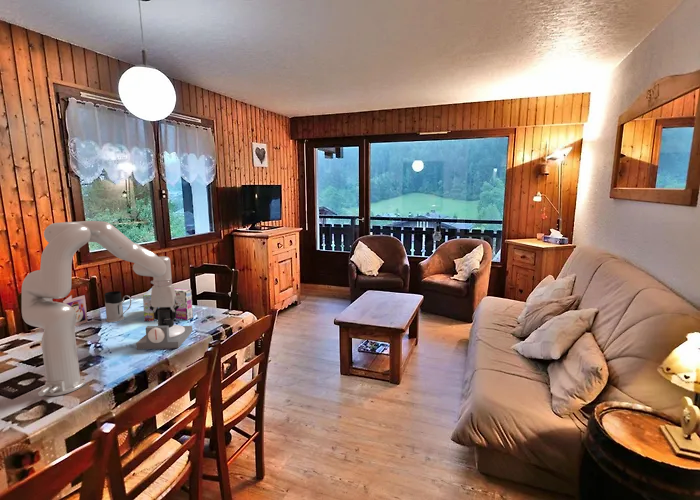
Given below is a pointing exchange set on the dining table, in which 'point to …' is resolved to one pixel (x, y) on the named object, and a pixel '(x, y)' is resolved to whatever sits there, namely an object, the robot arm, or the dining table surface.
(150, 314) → the snack box
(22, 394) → the dining table surface
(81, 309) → the greeting card
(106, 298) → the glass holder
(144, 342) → the dial scale
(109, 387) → the dining table surface
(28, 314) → the robot arm
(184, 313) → the candy bar box
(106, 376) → the dining table surface
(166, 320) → the supplement bottle
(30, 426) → the dining table surface
